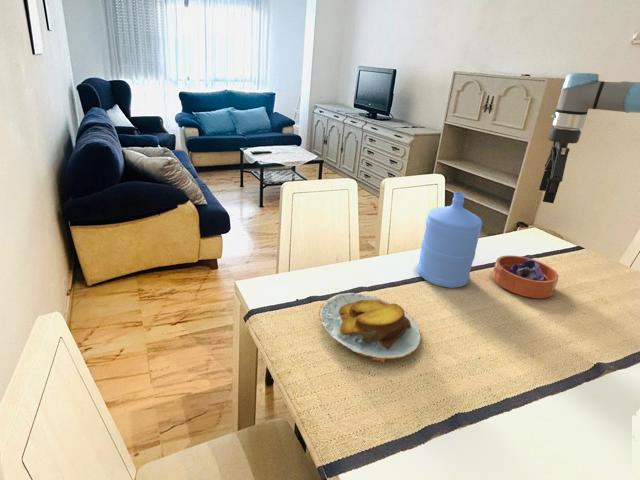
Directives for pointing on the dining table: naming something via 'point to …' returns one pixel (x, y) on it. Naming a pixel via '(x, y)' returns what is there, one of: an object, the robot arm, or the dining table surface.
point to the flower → (528, 270)
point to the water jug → (449, 244)
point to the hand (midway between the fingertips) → (545, 196)
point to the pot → (522, 284)
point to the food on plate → (370, 326)
